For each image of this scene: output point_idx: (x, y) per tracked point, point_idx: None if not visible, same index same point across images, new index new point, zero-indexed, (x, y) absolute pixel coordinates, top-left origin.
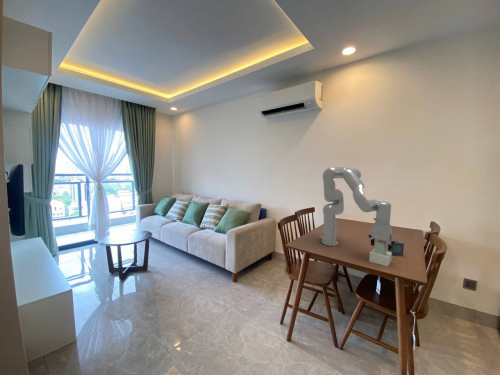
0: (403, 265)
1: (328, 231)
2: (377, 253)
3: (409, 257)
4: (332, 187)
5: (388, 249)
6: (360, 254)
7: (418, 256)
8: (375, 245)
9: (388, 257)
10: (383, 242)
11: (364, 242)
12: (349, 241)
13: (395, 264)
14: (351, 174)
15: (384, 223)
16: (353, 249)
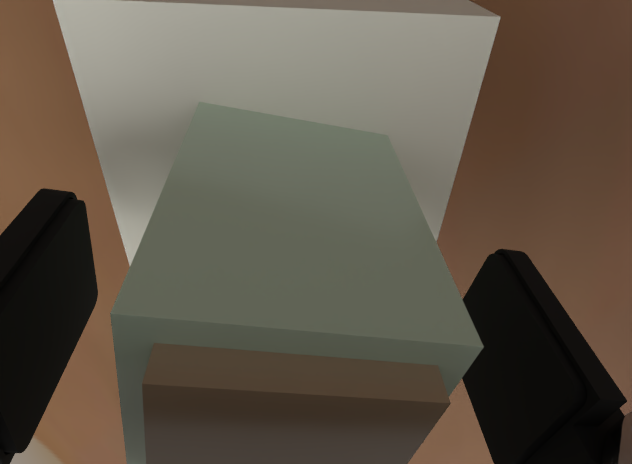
0: (10, 188)
1: None
2: (330, 100)
3: (94, 403)
4: None
5: (42, 208)
6: (553, 177)
7: (59, 450)
8: (432, 238)
9: (71, 38)
10: (163, 392)
11: (488, 453)
12: (625, 412)
13: (90, 150)
14: None
15: None
16: (623, 271)
